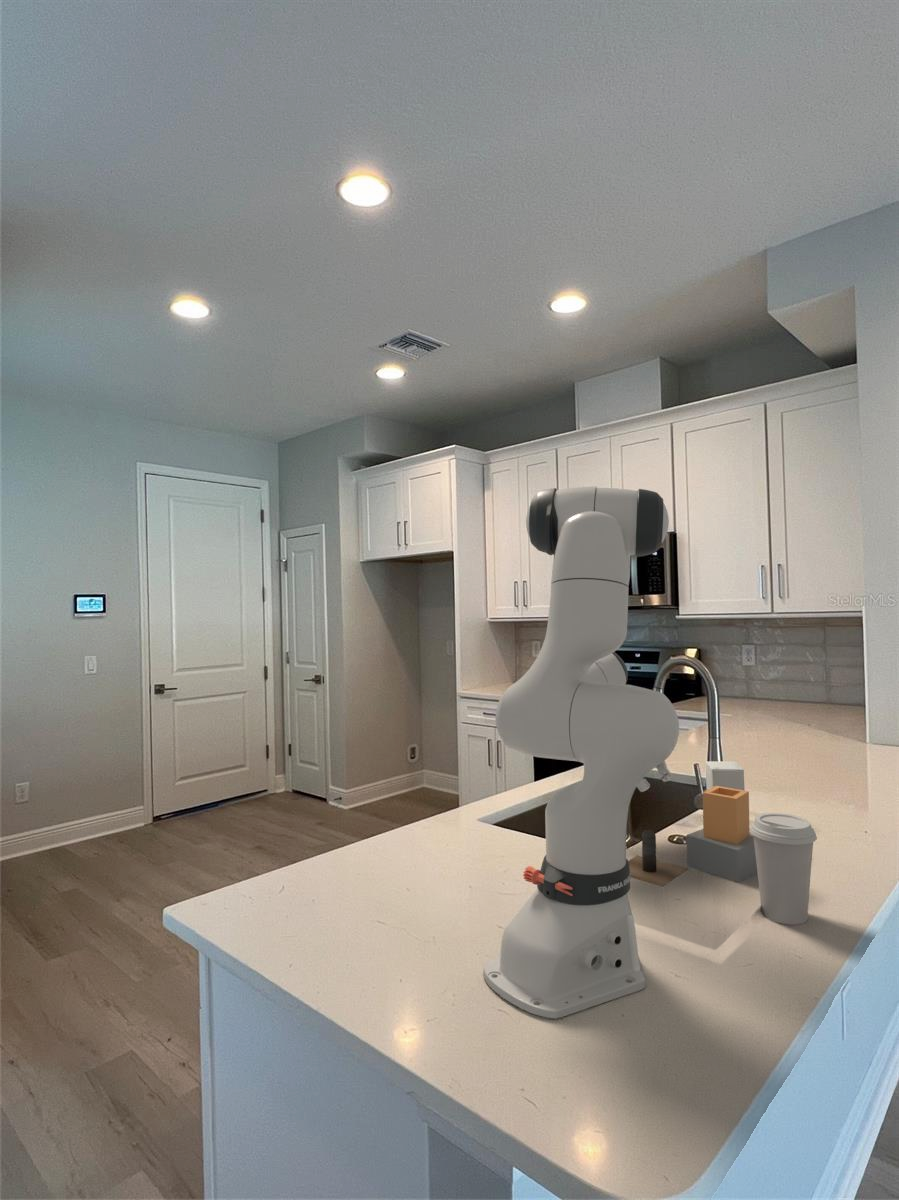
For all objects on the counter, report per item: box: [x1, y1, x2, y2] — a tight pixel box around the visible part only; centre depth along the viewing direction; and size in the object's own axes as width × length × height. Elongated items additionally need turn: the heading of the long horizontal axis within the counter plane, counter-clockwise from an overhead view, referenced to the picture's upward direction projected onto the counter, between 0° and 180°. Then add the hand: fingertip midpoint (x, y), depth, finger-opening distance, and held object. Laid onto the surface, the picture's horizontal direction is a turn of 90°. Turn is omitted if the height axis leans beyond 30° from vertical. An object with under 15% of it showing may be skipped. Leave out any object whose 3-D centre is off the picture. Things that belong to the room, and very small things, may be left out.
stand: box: [628, 829, 689, 887], centre depth 125 cm, size 10×10×9 cm
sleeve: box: [702, 786, 750, 844], centre depth 126 cm, size 6×6×8 cm
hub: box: [686, 828, 758, 883], centre depth 126 cm, size 10×10×13 cm
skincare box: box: [704, 760, 746, 791], centre depth 144 cm, size 8×7×16 cm
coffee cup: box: [749, 812, 818, 926], centre depth 110 cm, size 10×10×15 cm
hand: (658, 784), depth 135 cm, fingers open, 8 cm apart
